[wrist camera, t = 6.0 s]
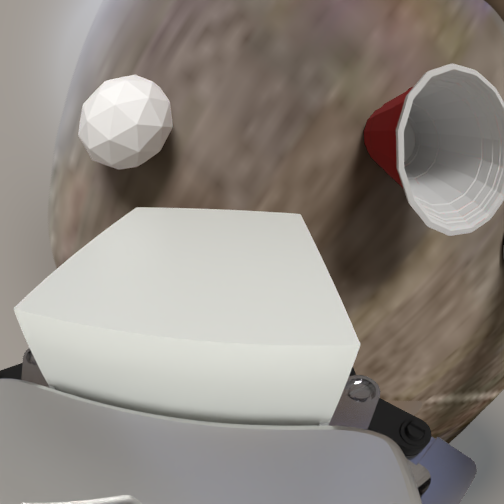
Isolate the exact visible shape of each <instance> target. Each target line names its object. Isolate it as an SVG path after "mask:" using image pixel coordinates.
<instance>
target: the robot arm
mask: <svg viewBox="0 0 504 504" xmlns="http://www.w3.org/2000/svg"><path fill="white" fill-rule="evenodd" d="M503 258H504V247H503ZM379 397H380V389H379V386H378V385H377V383H376V382H375V381H373V380H372V379H371V378H368V377H366V376H362V375H356V374H355V371H354V368H353V367H352V369H351V372H350V375H349V377H348V380H347V382H346V385H345V387H344V390H343V392H342V395H341V397H340V400H339V402H338V404H337V407H336V409H335V411H334V414H333V416H332V418H331V420H330V422H320V424H319V425H318V426H273V425H243V424H227V423H215V422H205V421H196V420H188V419H180V418H173V417H167V416H161V415H155V414H149V413H144V412H139V411H134V410H129V409H124V408H120V407H116V406H111V405H107V404H103V403H99V402H95V401H92V400H88V399H84V398H81V397H78V396H74V395H71V394H67V393H64V392H61V391H58V390H56V388H55V386H53V385H50V384H48V383H47V382H46V380H45V378H44V376H43V374H42V372H41V370H40V368H39V366H38V364H37V362H36V360H35V358H34V356H33V354H32V352H31V350H30V348H29V349H28V350H27V351H26V352H25V353H24V356H23V363H21V364H18V365H16V366H12V367H10V368H7V369H4V370H1V371H0V504H459V503H460V502H461V500H462V498H463V497H464V495H465V493H466V492H467V490H468V488H469V487H470V485H471V483H472V481H473V480H474V478H475V475H476V472H477V469H476V464H475V462H474V461H473V460H472V459H471V458H469V457H468V456H466V455H465V454H463V453H462V452H460V451H459V450H457V449H456V448H454V447H452V446H451V445H449V444H448V443H446V442H445V441H443V440H442V439H440V438H439V437H437V438H436V439H435V438H433V437H432V436H431V430H430V428H429V426H428V425H427V424H426V423H425V422H424V421H423V420H421V419H419V418H417V417H415V416H413V415H411V414H409V413H407V412H405V411H403V410H401V409H399V408H397V407H395V406H393V405H392V404H390V403H388V402H386V401H384V400H382V399H380V398H379Z"/></svg>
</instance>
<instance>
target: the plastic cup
mask: <svg viewBox="0 0 504 504" xmlns="http://www.w3.org/2000/svg"><path fill="white" fill-rule="evenodd" d="M364 142H365V146H366V148H367V150H368V152H369V155H370V157H371V158H372V159H373V160H374V161H375V162H376V163H377V164H378V165H379V166H380V167H382V168H383V169H384V170H385V171H386V172H387V174H388V175H389V176H391V177H392V178H393V179H394V180H395V181H396V182H397V183H398V184H399V185H400V186H401V187H402V188H403V189H404V191H405V195H406V198H407V201H408V203H409V204H410V205H411V207H412V208H413V209H414V210H415V211H416V213H417V214H418V215H419V216H420V218H421V219H422V220H423V221H424V223H425V224H426V225H427V226H428V227H430V228H432V229H435V230H437V231H439V232H442V233H444V234H446V235H449V236H451V235H458V234H465V233H471V232H473V231H474V230H476V229H477V228H479V227H480V226H482V225H483V224H484V223H486V222H487V221H489V220H490V219H491V218H492V216H493V215H494V214H495V212H496V211H497V209H498V208H499V206H500V205H501V204H502V202H503V201H504V102H503V100H502V98H501V97H500V95H499V93H498V91H497V90H496V88H495V87H494V86H493V85H492V84H491V83H490V82H489V81H487V80H486V79H485V78H484V77H483V76H482V75H481V74H480V73H478V72H477V71H476V70H473V69H470V68H467V67H463V66H459V65H456V64H449V65H446V66H443V67H440V68H437V69H434V70H431V71H428V72H426V73H425V74H424V75H423V76H422V77H421V79H420V80H419V81H418V82H417V83H416V85H415V86H414V87H411V88H409V89H408V91H406V92H405V93H403V94H401V95H399V96H398V97H396V98H394V99H392V100H391V101H389V102H387V103H385V104H384V105H383V106H382V107H381V108H379V109H378V110H376V111H375V112H374V113H373V114H372V115H371V116H370V118H369V119H368V120H367V123H366V126H365V129H364Z"/></svg>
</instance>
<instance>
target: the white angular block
mask: <svg viewBox="0 0 504 504" xmlns="http://www.w3.org/2000/svg"><path fill="white" fill-rule="evenodd" d="M14 312H15V314H16V317H17V319H18V322H19V324H20V327H21V329H22V332H23V334H24V336H25V339H26V341H27V343H28V346H29V348H30V350H31V352H32V354H33V356H34V358H35V360H36V362H37V364H38V366H39V368H40V370H41V372H42V374H43V376H44V378H45V380H46V382H47V383H48V384H50V385H53V386H55V388H56V390H58V391H61V392H64V393H67V394H71V395H74V396H78V397H81V398H84V399H88V400H92V401H95V402H99V403H103V404H107V405H111V406H116V407H120V408H124V409H129V410H134V411H139V412H144V413H149V414H155V415H161V416H167V417H173V418H180V419H188V420H196V421H205V422H215V423H227V424H243V425H273V426H318V425H319V424H320V422H330V420H331V418H332V416H333V414H334V411H335V409H336V407H337V404H338V402H339V400H340V397H341V395H342V392H343V390H344V387H345V385H346V382H347V380H348V377H349V375H350V372H351V369H352V367H353V364H354V361H355V359H356V356H357V353H358V350H359V347H360V343H359V340H358V338H357V335H356V333H355V331H354V328H353V326H352V324H351V321H350V319H349V317H348V314H347V312H346V310H345V308H344V305H343V303H342V301H341V298H340V296H339V294H338V292H337V290H336V287H335V285H334V283H333V281H332V279H331V276H330V274H329V272H328V270H327V268H326V266H325V264H324V261H323V259H322V257H321V255H320V253H319V251H318V249H317V247H316V245H315V243H314V241H313V239H312V237H311V235H310V232H309V230H308V228H307V226H306V224H305V222H304V220H303V218H302V216H301V214H292V213H277V212H260V211H241V210H218V209H191V208H149V207H136V208H135V209H133V210H132V211H131V212H129V213H128V214H126V215H125V216H124V217H122V218H121V219H120V220H118V221H117V222H115V223H114V224H113V225H111V226H110V227H109V228H107V229H106V230H105V231H103V232H102V233H101V234H99V235H98V236H97V237H96V238H94V239H93V240H92V241H90V242H89V243H88V244H87V245H85V246H84V247H83V248H82V249H80V250H79V251H78V252H77V253H75V254H74V255H73V256H72V257H70V258H69V259H68V260H67V261H66V262H64V263H63V264H62V265H61V266H60V267H59V268H57V269H56V270H55V271H54V272H53V273H52V274H50V275H49V276H48V277H47V278H46V279H45V280H44V281H42V282H41V283H40V284H39V285H38V286H37V287H36V288H35V289H34V290H32V291H31V292H30V293H29V294H28V295H27V296H26V297H25V298H24V299H23V300H22V301H21V302H20V303H19V304H18V305H17V306H15V308H14Z"/></svg>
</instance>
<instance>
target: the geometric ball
mask: <svg viewBox="0 0 504 504" xmlns="http://www.w3.org/2000/svg"><path fill="white" fill-rule="evenodd" d="M172 128H173V123H172V115H171V107H170V101H169V100H168V98H167V97H166V95H165V94H164V92H163V91H162V89H161V88H160V87H159V86H158V85H156V84H155V83H154V82H152V81H150V80H147V79H145V78H142V77H140V76H137V75H131V76H126V77H121V78H116V79H111V80H107V81H105V82H104V83H103V84H102V85H101V86H100V87H99V88H98V89H97V90H96V91H95V92H94V93H93V94H92V95H91V96H90V97H89V98H88V99H87V100H86V102H85V103H84V104H83V107H82V113H81V119H80V126H79V133H78V136H79V138H80V140H81V141H82V143H83V145H84V147H85V148H86V150H87V152H88V154H89V155H90V157H91V159H92V160H93V161H96V162H99V163H101V164H104V165H107V166H110V167H113V168H115V169H118V170H120V169H126V168H133V167H138V166H139V165H141V164H143V163H144V162H146V161H147V160H149V159H150V158H151V157H153V156H154V155H156V154H157V153H158V152H160V151H161V149H162V147H163V145H164V143H165V141H166V139H167V137H168V135H169V134H170V132H171V130H172Z"/></svg>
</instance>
